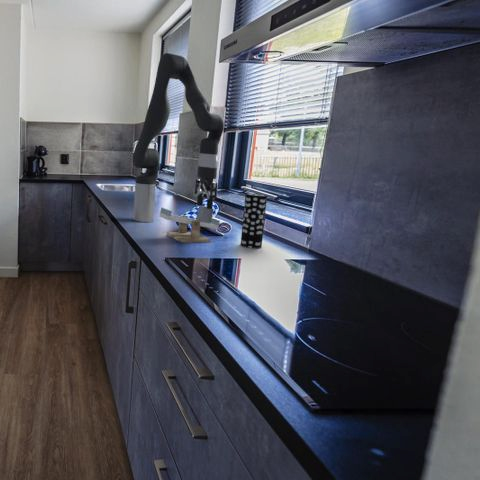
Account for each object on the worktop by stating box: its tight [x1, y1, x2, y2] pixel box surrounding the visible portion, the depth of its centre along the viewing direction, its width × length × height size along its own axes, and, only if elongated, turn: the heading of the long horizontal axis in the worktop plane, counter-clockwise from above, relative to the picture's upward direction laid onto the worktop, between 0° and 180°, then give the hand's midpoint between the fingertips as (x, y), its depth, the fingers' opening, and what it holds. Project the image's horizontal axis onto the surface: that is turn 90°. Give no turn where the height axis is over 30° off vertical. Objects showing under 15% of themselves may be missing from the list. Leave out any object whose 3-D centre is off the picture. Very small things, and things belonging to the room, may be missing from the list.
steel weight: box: [195, 205, 215, 223], centre depth 172 cm, size 4×4×6 cm
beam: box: [159, 207, 221, 230], centre depth 169 cm, size 9×22×4 cm, turn 122°
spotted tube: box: [239, 192, 268, 249], centre depth 167 cm, size 8×8×20 cm
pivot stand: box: [166, 215, 211, 244], centre depth 170 cm, size 14×12×8 cm
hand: (204, 207), depth 171 cm, fingers open, 8 cm apart
